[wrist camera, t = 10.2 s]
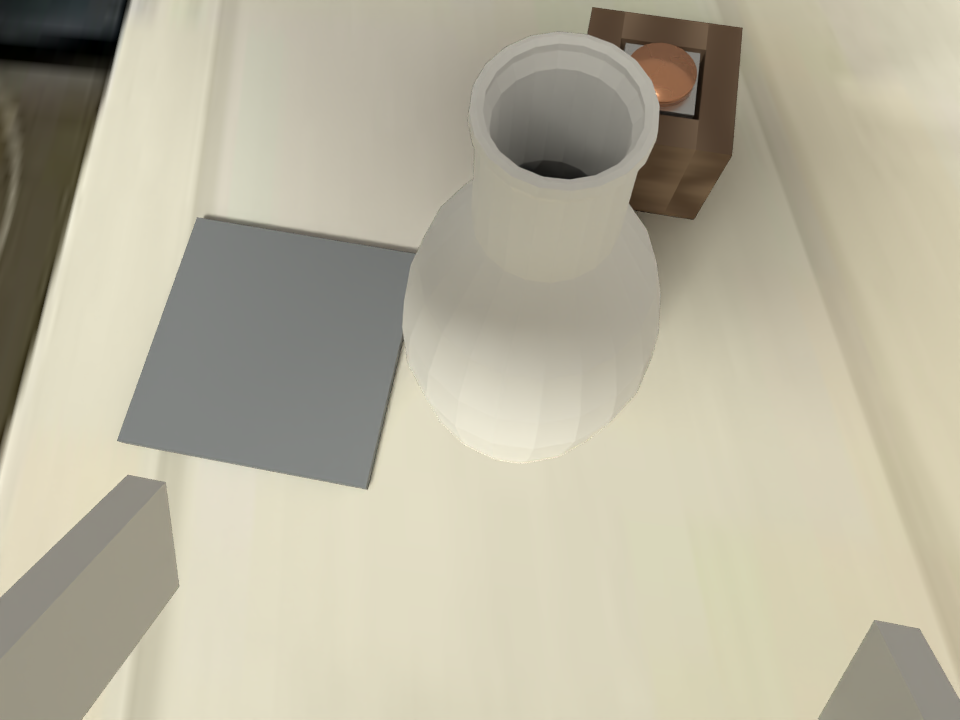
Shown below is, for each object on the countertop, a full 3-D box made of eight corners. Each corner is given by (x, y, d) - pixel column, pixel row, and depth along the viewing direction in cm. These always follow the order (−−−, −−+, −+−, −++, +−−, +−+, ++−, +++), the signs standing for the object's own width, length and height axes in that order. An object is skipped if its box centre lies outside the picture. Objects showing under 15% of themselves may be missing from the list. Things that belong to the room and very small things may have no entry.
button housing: (558, 198, 43) (571, 131, 37) (577, 88, 46) (592, 7, 39) (693, 219, 43) (732, 155, 36) (704, 107, 45) (742, 28, 39)
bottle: (643, 366, 40) (887, 54, 15) (543, 520, 37) (651, 434, 13) (492, 272, 42) (500, -134, 17) (388, 412, 39) (226, 160, 15)
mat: (122, 442, 39) (116, 440, 38) (201, 221, 43) (197, 217, 42) (367, 489, 38) (365, 488, 37) (422, 258, 42) (421, 254, 41)
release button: (602, 156, 42) (618, 96, 37) (610, 100, 43) (628, 34, 38) (670, 166, 42) (697, 108, 36) (676, 110, 43) (703, 45, 38)
